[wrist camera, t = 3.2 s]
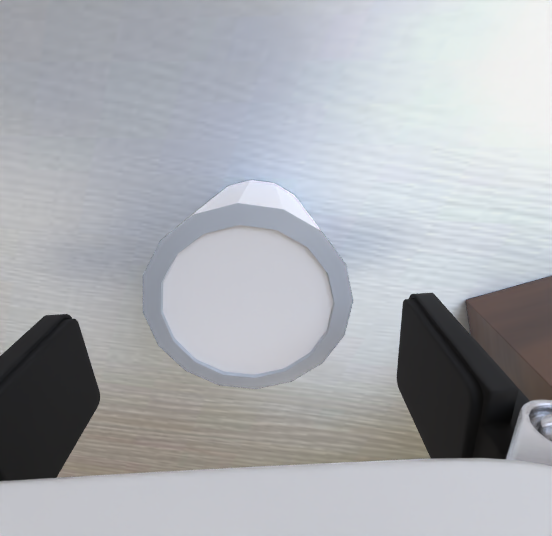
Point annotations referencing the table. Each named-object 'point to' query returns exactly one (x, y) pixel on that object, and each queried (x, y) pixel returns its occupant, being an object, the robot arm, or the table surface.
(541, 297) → the walnut block
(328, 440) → the table surface
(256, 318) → the white cup
